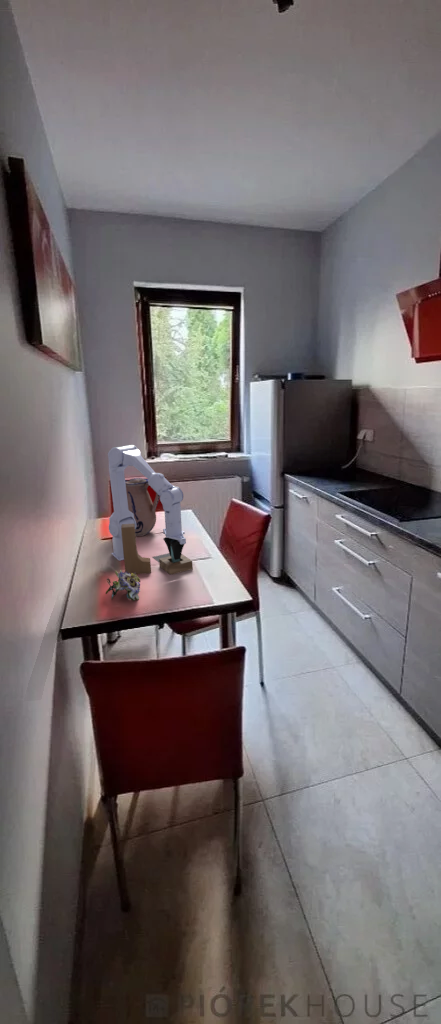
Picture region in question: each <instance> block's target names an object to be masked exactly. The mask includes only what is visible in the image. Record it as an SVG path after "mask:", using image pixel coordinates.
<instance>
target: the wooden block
mask: <svg viewBox="0 0 441 1024" xmlns="http://www.w3.org/2000/svg"><path fill="white" fill-rule="evenodd" d="M121 532H122V543H123V554H124V560H123V563H124V572H125V573H126V572H127V573H130V574H131V573H133V574H134V572H135V573H136V575H142V574H143V575H144V574H151V573H152V566H151V565H152V563H151V558H150V557H145V556H144V557H143V556H142V555H140V554H139V552H138V549H137V538H136V537H137V536H135V524H122V526H121Z"/></svg>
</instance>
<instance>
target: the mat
mask: <svg viewBox="0 0 441 1024" xmlns="http://www.w3.org/2000/svg"><path fill="white" fill-rule="evenodd" d="M168 556H170V554H169V552H167V553H164V554H159V555H156V556H152V559H154V560H155V561H157V562H158V563H159V559H160V558H164V557H168Z"/></svg>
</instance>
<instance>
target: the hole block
mask: <svg viewBox="0 0 441 1024" xmlns="http://www.w3.org/2000/svg"><path fill="white" fill-rule="evenodd" d="M158 565H159V568H160V569H162V570H163V571H165V573H167V574H168V575H175V574H179V573H182V572H186V571H190V570H191V571H192V570H193V569H194V568H193V560H192V559H190V558H188V557H187V556H185V555H184V554H183V553H181V558H180V561H179V562H175V563H172V560H171V556H168V557H164V558H160V559H159V562H158Z"/></svg>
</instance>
